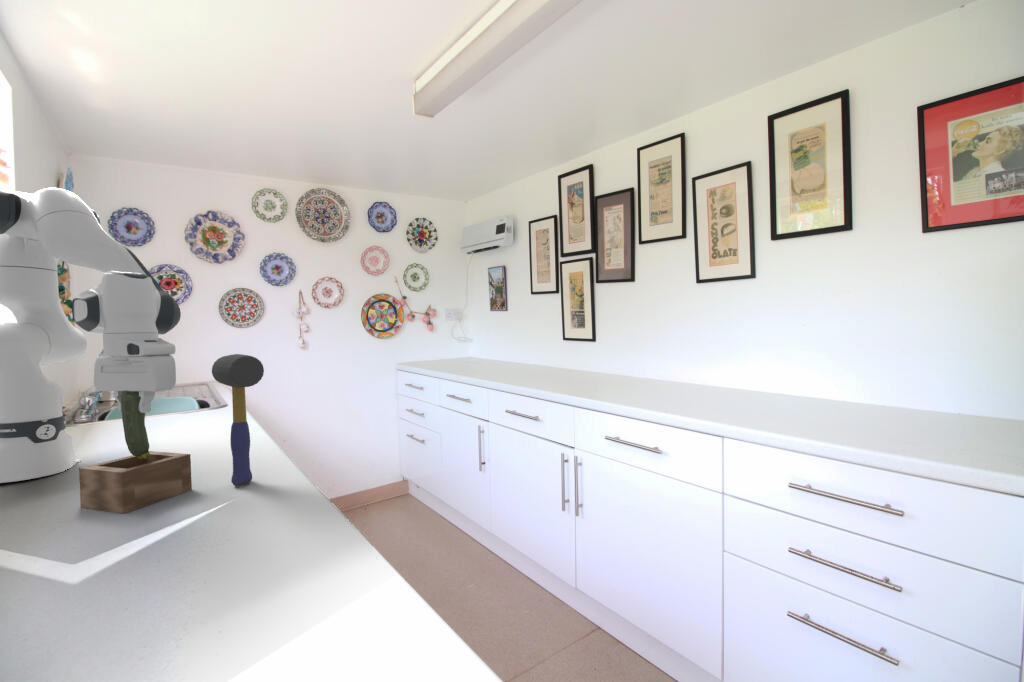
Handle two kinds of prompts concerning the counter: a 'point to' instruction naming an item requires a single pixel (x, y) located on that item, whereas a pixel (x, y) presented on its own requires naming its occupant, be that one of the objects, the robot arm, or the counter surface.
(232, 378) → the rubber mallet
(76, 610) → the counter surface
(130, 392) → the vegetable
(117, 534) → the counter surface
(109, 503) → the socket block
